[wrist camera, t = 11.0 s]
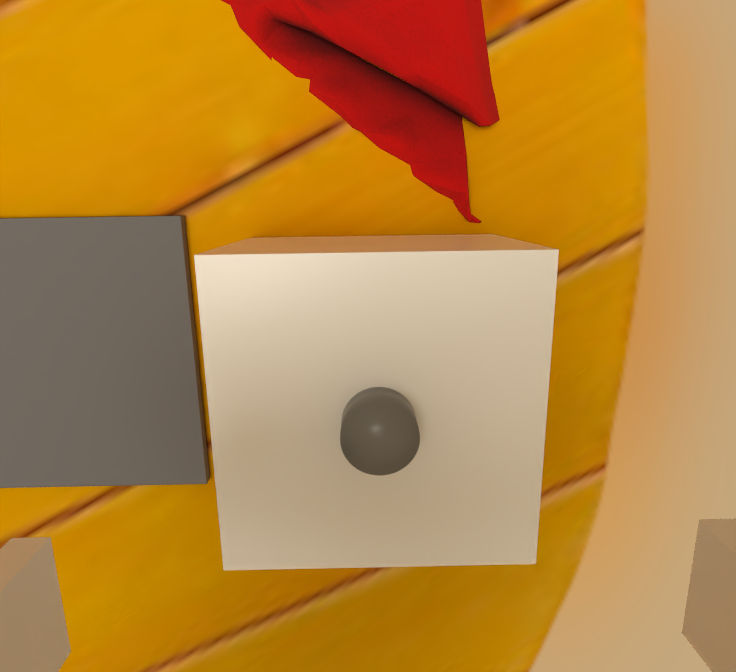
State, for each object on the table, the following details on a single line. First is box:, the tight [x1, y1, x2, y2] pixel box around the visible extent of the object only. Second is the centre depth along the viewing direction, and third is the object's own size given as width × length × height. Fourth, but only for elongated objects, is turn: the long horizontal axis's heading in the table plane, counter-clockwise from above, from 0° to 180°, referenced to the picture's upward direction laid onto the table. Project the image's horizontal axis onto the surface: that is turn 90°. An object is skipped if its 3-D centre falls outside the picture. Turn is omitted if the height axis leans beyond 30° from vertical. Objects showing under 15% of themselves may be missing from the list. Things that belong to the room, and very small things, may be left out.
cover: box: [194, 234, 559, 570], centre depth 22 cm, size 12×12×10 cm
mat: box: [0, 216, 210, 488], centre depth 27 cm, size 14×13×1 cm
